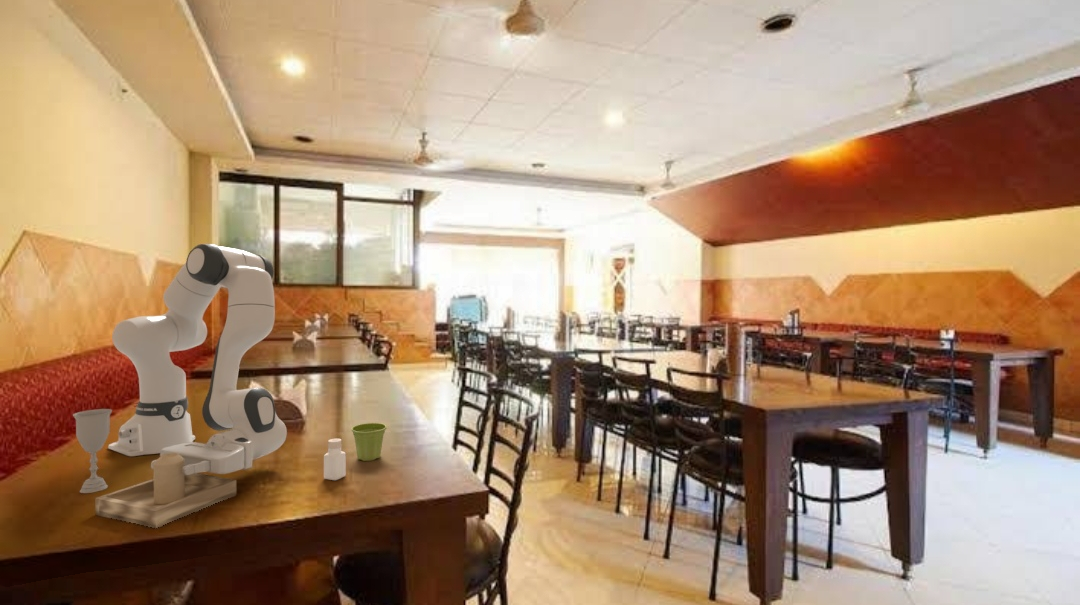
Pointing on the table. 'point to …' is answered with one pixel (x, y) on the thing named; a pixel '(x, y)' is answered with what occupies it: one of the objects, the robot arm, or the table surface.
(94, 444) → the chalice
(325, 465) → the salt shaker
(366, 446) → the plant pot
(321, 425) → the table surface
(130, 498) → the tray
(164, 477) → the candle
